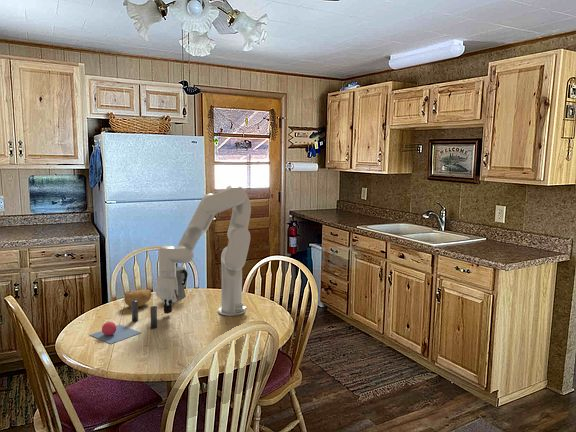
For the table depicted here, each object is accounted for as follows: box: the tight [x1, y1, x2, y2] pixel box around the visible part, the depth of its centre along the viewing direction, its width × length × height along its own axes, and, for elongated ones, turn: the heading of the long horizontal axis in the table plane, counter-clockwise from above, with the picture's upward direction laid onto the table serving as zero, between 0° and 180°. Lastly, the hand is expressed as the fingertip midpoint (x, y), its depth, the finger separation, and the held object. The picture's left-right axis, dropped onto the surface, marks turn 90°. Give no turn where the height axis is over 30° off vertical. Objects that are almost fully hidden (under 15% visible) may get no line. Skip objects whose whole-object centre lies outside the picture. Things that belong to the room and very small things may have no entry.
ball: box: [101, 321, 117, 336], centre depth 179 cm, size 6×6×6 cm
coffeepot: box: [176, 263, 188, 300], centre depth 228 cm, size 15×9×18 cm, turn 51°
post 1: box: [131, 300, 139, 323], centre depth 195 cm, size 3×3×9 cm
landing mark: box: [89, 324, 142, 345], centre depth 180 cm, size 14×14×1 cm
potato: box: [123, 288, 152, 308], centre depth 214 cm, size 10×14×8 cm
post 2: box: [149, 305, 158, 330], centre depth 188 cm, size 3×3×9 cm
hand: (167, 312), depth 202 cm, fingers closed
